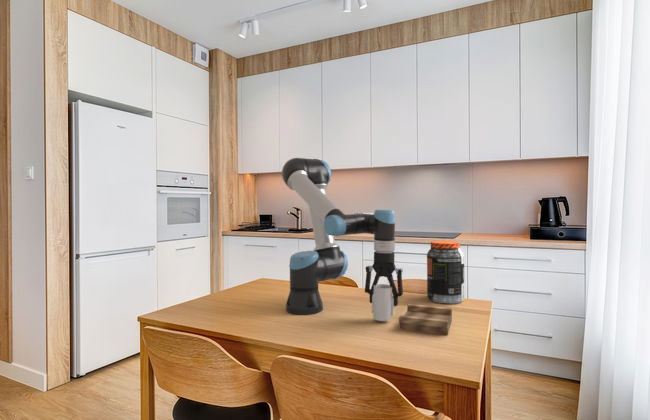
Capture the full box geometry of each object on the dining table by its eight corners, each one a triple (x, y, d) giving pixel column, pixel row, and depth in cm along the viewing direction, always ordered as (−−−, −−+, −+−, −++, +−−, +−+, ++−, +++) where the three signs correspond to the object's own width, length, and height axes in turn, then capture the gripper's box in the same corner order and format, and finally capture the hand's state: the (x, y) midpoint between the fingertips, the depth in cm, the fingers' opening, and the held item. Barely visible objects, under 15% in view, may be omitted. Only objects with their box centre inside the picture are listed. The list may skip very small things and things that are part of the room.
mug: (385, 323, 135) (386, 289, 135) (369, 318, 139) (370, 286, 139) (398, 316, 143) (399, 284, 142) (383, 312, 147) (384, 281, 147)
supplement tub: (471, 300, 167) (471, 242, 166) (448, 306, 158) (448, 244, 157) (442, 293, 180) (442, 239, 179) (419, 298, 171) (419, 241, 170)
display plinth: (399, 329, 131) (399, 316, 131) (408, 315, 147) (408, 303, 147) (447, 335, 125) (447, 322, 125) (451, 320, 141) (451, 308, 141)
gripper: (355, 251, 141) (355, 312, 142) (408, 254, 133) (407, 319, 134) (361, 248, 147) (361, 306, 149) (412, 251, 140) (411, 313, 141)
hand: (383, 312), depth 141 cm, fingers closed on mug, 6 cm apart
